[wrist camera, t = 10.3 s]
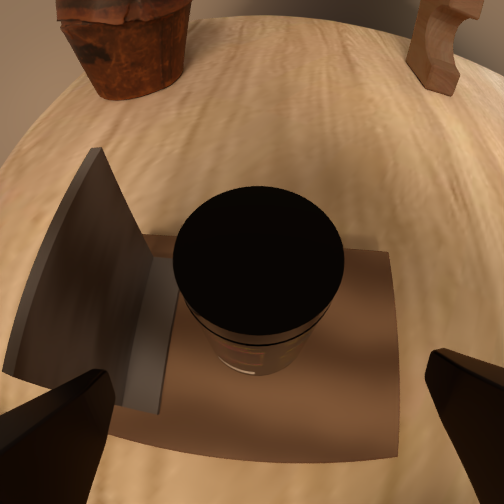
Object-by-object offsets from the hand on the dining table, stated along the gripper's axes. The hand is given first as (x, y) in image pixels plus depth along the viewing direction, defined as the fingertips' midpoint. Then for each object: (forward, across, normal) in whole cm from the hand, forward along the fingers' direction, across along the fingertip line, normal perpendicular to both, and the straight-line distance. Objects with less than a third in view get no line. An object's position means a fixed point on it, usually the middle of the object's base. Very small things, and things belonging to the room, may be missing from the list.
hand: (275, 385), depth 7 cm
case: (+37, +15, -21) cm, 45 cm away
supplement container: (+10, 0, +4) cm, 11 cm away
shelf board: (+11, 0, +5) cm, 12 cm away
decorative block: (+39, -31, -23) cm, 55 cm away
